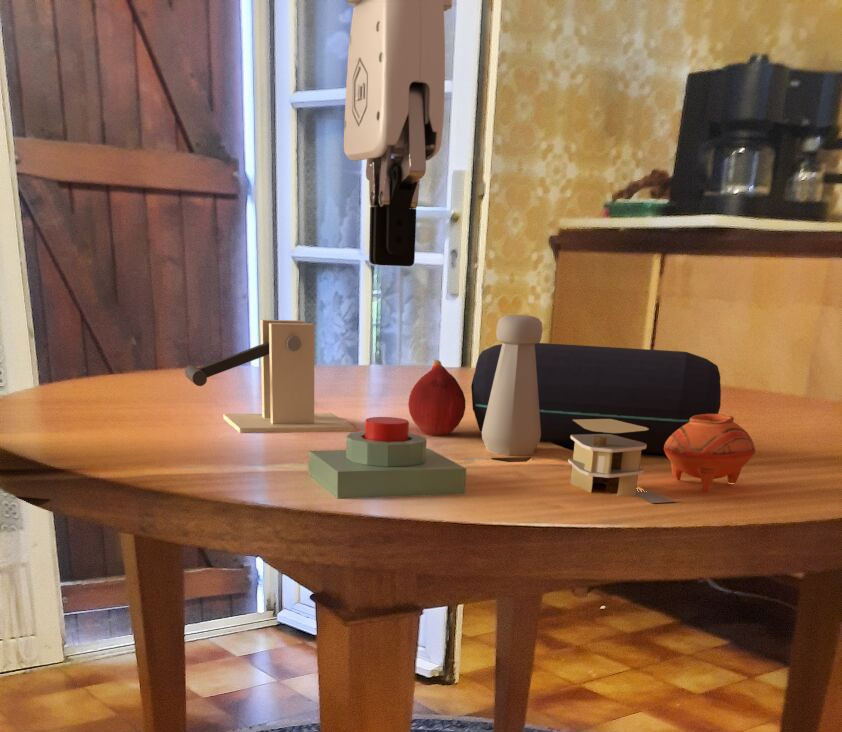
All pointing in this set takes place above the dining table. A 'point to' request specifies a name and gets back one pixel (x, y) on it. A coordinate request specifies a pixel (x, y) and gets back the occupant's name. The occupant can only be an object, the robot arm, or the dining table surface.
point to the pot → (709, 449)
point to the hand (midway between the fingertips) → (391, 264)
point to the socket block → (385, 469)
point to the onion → (437, 402)
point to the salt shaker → (514, 391)
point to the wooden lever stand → (287, 384)
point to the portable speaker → (610, 390)
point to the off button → (386, 429)
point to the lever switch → (225, 364)
